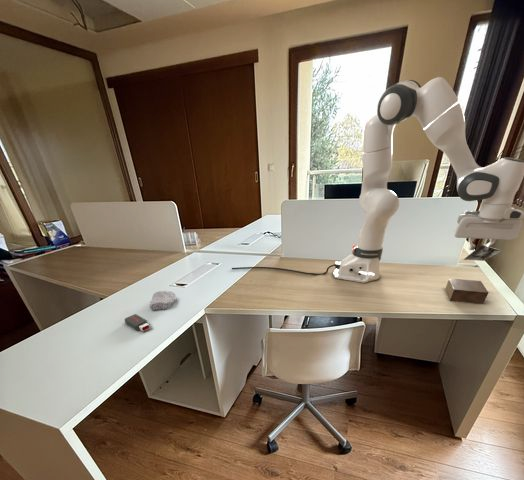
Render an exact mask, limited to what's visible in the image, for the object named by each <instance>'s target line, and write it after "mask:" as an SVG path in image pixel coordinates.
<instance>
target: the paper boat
mask: <svg viewBox="0 0 524 480" xmlns="http://www.w3.org/2000/svg"><path fill="white" fill-rule="evenodd" d="M484 245H485V244H480V246H478V247H477V248H476V249H474V250H472V252H471V253H470V254H468V255H467V256H466V257H465V258H464V259H463V261H479V262H481V261H482V262H484V261H487V260H488V259H490V258H492V257H493V256H495V255H497V254H499V253H501V252H502V250H501V249H498V248H495V247H492V246H490V247H489V249H488V251H483V250H482V249H483V246H484Z"/></svg>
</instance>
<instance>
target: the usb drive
mask: <svg viewBox="0 0 524 480" xmlns="http://www.w3.org/2000/svg"><path fill="white" fill-rule="evenodd" d="M124 323H125V324H126V325H127V326H128V327H130V328H132V329H133V330H135V331H137V332H140V331H141V332H143V333H144V332H146V331H147V330H150V329H151V326H150V324H149V323H148V319H145V318H143V317H142V316H140V315H138V314H136V313H135V314H132V315H130V316H127V317H125V318H124Z"/></svg>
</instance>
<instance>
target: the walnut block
mask: <svg viewBox="0 0 524 480" xmlns="http://www.w3.org/2000/svg"><path fill="white" fill-rule="evenodd" d="M444 289H445V292H446V295H447V297H448V300H449V301H450V302H458V303H468V304H480V305H485V304H484V303H485V301H486V299H487V298H488V295H489V293H490V292H489V291H488V290H487V288H486V286H485V285H484V284H483V282H482V280H473V279H459V278H448V281H447V283H446V286H445V288H444Z"/></svg>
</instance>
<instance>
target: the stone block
mask: <svg viewBox="0 0 524 480" xmlns="http://www.w3.org/2000/svg"><path fill="white" fill-rule="evenodd" d="M176 299H177V298H176V294H175V292H173V291H167V290H159V291H155V292H154V293H153V294H152V296H151V300H150V301H149V302H148V303H149V308H150V309H151V310H152V311H160V310H168V309H169V308H170V307H171V306H172V305H173V304H174V303H175V302H176Z"/></svg>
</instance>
